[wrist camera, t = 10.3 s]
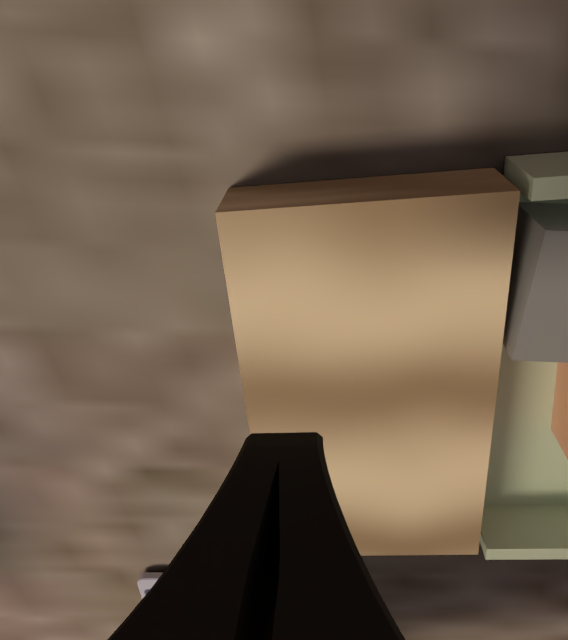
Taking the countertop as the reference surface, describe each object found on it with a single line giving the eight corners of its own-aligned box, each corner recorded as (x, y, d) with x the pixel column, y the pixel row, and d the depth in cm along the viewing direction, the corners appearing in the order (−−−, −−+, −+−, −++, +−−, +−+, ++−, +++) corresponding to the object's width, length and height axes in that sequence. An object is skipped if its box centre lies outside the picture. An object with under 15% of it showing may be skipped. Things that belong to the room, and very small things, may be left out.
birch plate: (463, 503, 23) (478, 554, 21) (274, 506, 24) (269, 556, 21) (493, 167, 16) (520, 190, 14) (229, 187, 17) (215, 212, 15)
